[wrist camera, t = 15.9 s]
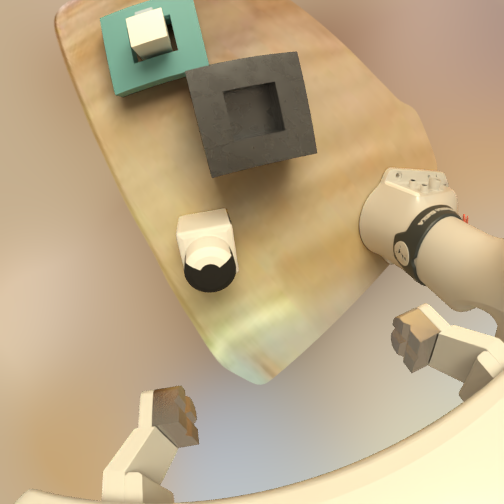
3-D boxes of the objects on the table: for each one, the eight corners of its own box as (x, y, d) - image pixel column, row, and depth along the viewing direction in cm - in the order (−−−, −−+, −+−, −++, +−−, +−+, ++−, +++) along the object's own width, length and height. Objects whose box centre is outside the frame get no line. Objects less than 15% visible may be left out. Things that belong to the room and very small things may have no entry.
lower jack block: (190, 0, 27) (190, -11, 24) (207, 71, 33) (209, 65, 29) (107, 26, 27) (100, 18, 23) (122, 97, 32) (115, 94, 29)
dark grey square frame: (273, 66, 34) (296, 51, 25) (290, 144, 40) (317, 153, 31) (187, 83, 33) (184, 71, 24) (208, 164, 39) (211, 177, 30)
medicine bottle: (232, 250, 45) (245, 293, 35) (187, 258, 45) (187, 304, 34) (226, 207, 42) (237, 239, 31) (178, 215, 41) (172, 251, 31)
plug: (166, 25, 29) (160, 2, 21) (173, 53, 31) (167, 35, 23) (138, 33, 28) (124, 13, 20) (144, 62, 31) (131, 47, 23)
